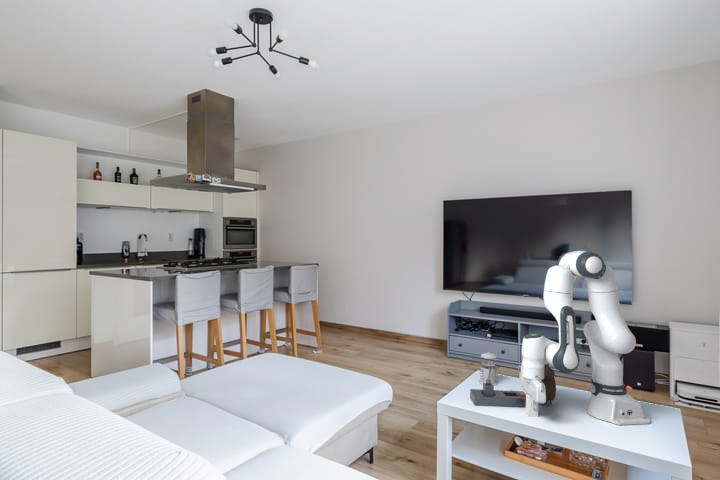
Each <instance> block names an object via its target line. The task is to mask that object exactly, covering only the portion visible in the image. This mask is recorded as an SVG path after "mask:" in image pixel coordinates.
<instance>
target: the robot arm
mask: <svg viewBox="0 0 720 480" xmlns="http://www.w3.org/2000/svg"><path fill="white" fill-rule="evenodd" d="M578 278H583V279H584V280H585V282H586V287H587V288H586V289H587V296H588V298H587V299H588V303H589V305H588V306H589V309H590V311H591V313H592V314H593V316H594V318H595V319H592V320H590V321H587V322H586V323H585V324H584V327H583V335H584V336H585V338H586V340H587V343H588V347H589V351H590V358H591V362H592V366H591V368H592V369H591V372H592V373H591V375H592V376H591V379H590V393H591V394H590V400H589V404H588V408H587V410H586V412H587V413H588V415H590V416H592V417H593V418H596V419H598V420H600V421H605V422H609V423H612V424H614V425H616V426H617V425H618V426H623V425H624V426H627V425H629V426H630V425H649V424H651V420H650V418H649V417H648V416H647V415H645V414H644V409H643V406H642V404H640V402H639V401H637V400H636V399H635V397H633V396H632V395H630V394H629V393H632V392H633V390H634V389H633V387H632V386H630V385H626V384H625V383H623V382H624V381H623V378H624V366H623V363H622V361H621V360H620V357H619V354H621V355H623V354H624V355H625V354H629V353H631V352H632V351H633V350H634V349H635V347H636V344H637V341H636V337H635V335H634V334H633V333H632V331H631V330H630V329H629V327H628V325H627V322H626V319H625V317H624V315H623V312H622V309H621V304H620V299H619V297H620V296H619V290H618V284H617V279H616V275H615V272H614V270H613V268H612V267H611V266H609V265H608V264H607V265H606V264H605V261H604V259H603V258H602V256H600V255H599V254H598V253H596V252H593V251H589V250H588V251H586V250H575V251H574V250H573V251H571V250H570V251H567V252H564V253H562V254H561V255H560V256H559V258H558V260H557V262H556V264H555V265H553V266H551V267H549V268H548V270H547V272H546V276H545V279H544V286H543V296H542V297H543V305H544V307H545V308H546V309H547V310H548V311H549V313H550V314H552V316H553V317H554V318H555V320H556V322H557V324H558V342H557V341H554V340H551V339H549V338H547V337H545V336H544V335H543V334H541V333H538V332H532V333H527V334H525V335H524V336H523V339H522V344H521V357H522V361H521V365H518V371H519V375H518V376H519V385H520V387H521V389H523V391H524V392H525V394H527V395H530V396H531V398H532V403H531V407H532V408H534V409H536V408H537V403H538V404H542V403H543V404H546V402H547V401H546V390H545V385H544V383H542V379H544V365H545V364H549V366H551V367H553V368H555V369H556V370H558V372H560V373H562V374H572V373H573V372H574V371H576V370H577V369H578V367H579V366H580V363H581V362H580V361H581V359H580V355H579V351H578V345H577V343H578V342H577V320H576V318H577V317H576V313H575V309H574V305H573V303H574V302H573V298H574V297H573V296H574V295H573V293H574V284H575V282H576V279H578ZM628 392H629V393H628Z"/></svg>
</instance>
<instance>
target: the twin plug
mask: <svg viewBox="0 0 720 480" xmlns="http://www.w3.org/2000/svg"><path fill="white" fill-rule="evenodd" d="M482 390H483V395H494V390H495V386H493V384H491V380H489V379H487V380H486V383H483V385H482Z"/></svg>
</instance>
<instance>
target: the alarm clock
mask: <svg viewBox="0 0 720 480" xmlns="http://www.w3.org/2000/svg"><path fill="white" fill-rule="evenodd" d="M555 373H556V372H555V370H554V369H553V368H551V367H550V365H549V364H545V365H544V379H542V383H544V385H545V390H546V402H549V404H550V405H552V402H553V401H554V400H555V398H556V395H557V385H556V379H555V376H556V375H555ZM541 406H542V407H543V406H544V403H541Z"/></svg>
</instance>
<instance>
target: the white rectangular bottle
mask: <svg viewBox="0 0 720 480" xmlns="http://www.w3.org/2000/svg"><path fill="white" fill-rule="evenodd" d="M525 394H526V393H525ZM531 403H532V398H531V396H530V395H527V394H526V408H525V414H526V415H527V417H530V418H531V417H532V418H533V417H534V418H538V417H539V403H537V408H536V409H534V408H532V407H531Z"/></svg>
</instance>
